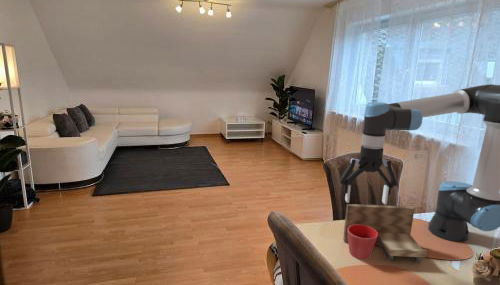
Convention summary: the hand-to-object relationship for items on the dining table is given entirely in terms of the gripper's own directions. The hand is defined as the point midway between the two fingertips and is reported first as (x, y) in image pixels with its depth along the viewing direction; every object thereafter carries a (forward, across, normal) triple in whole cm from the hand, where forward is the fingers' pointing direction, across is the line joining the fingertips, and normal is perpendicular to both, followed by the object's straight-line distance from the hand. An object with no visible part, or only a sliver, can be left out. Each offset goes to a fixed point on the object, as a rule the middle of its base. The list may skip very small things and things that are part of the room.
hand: (365, 202), depth 117 cm
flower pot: (+22, 0, 0) cm, 22 cm away
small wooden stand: (+21, -15, -1) cm, 26 cm away
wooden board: (+21, -9, -9) cm, 25 cm away
